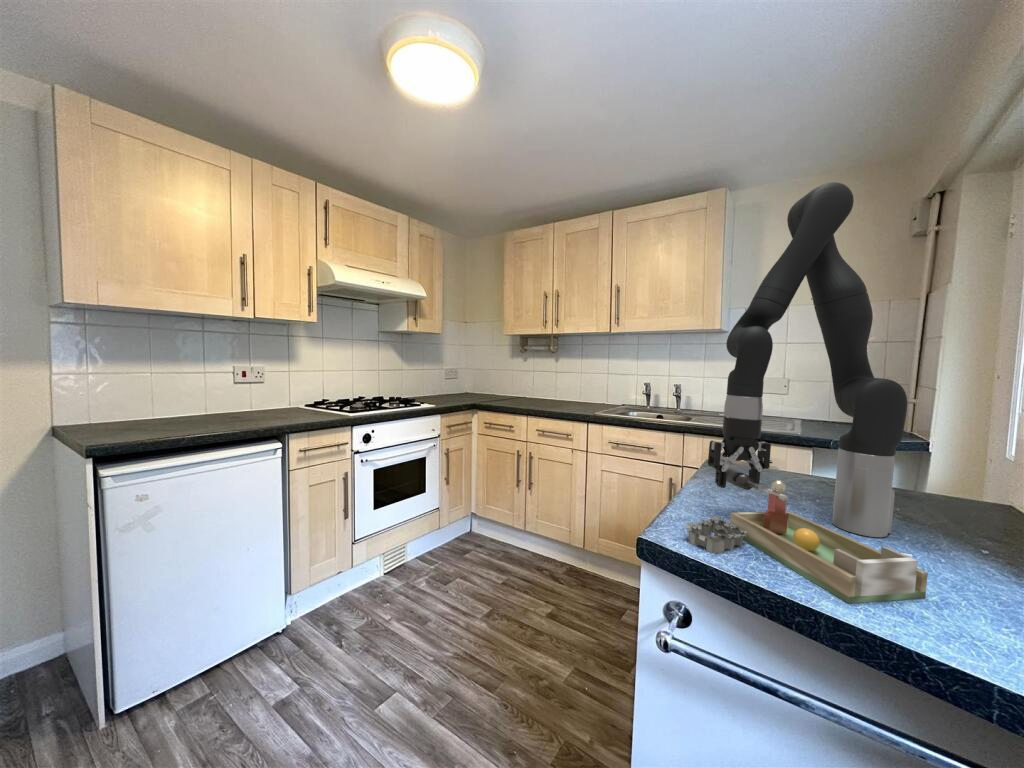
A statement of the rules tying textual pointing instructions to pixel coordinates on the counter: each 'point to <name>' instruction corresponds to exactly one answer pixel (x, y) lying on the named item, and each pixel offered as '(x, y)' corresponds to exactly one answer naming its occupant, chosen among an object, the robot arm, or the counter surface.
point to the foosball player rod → (776, 502)
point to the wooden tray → (838, 561)
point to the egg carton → (715, 534)
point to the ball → (806, 539)
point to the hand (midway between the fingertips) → (736, 486)
